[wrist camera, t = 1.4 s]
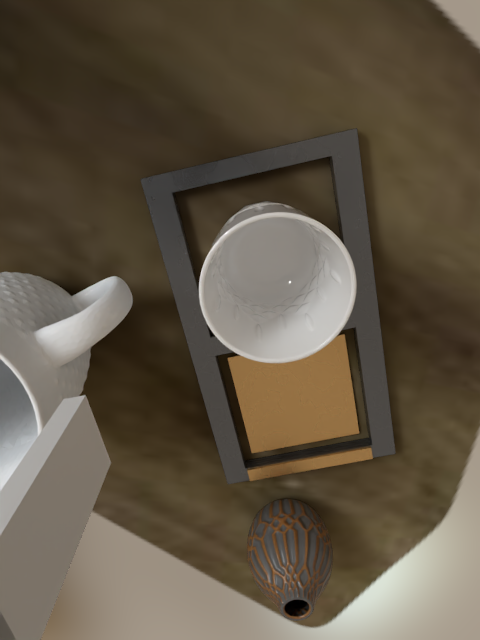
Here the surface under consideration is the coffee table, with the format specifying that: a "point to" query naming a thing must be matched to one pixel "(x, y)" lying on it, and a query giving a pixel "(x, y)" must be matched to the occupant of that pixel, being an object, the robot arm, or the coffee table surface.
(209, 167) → the grey double frame
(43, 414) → the mug
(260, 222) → the white cup
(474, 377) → the coffee table surface
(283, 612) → the vase
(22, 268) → the coffee table surface
